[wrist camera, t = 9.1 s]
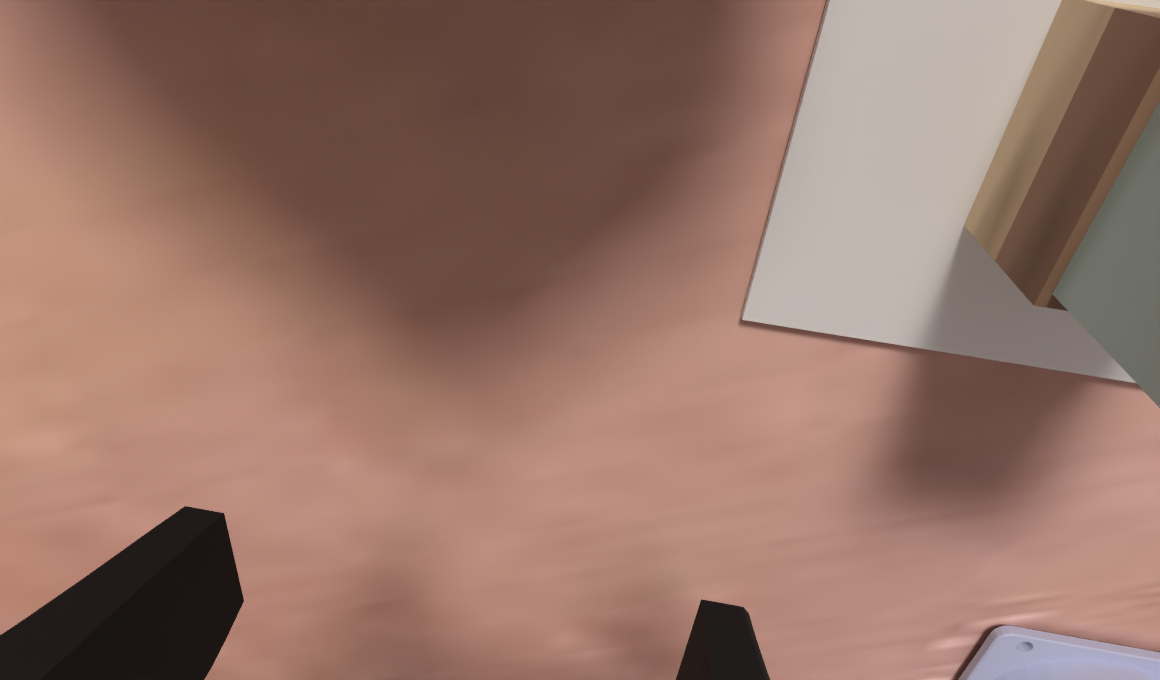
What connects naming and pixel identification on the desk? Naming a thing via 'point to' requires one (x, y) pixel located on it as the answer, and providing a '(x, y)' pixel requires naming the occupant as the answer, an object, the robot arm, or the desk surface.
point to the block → (1124, 267)
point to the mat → (909, 186)
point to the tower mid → (1085, 155)
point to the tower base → (1038, 116)
